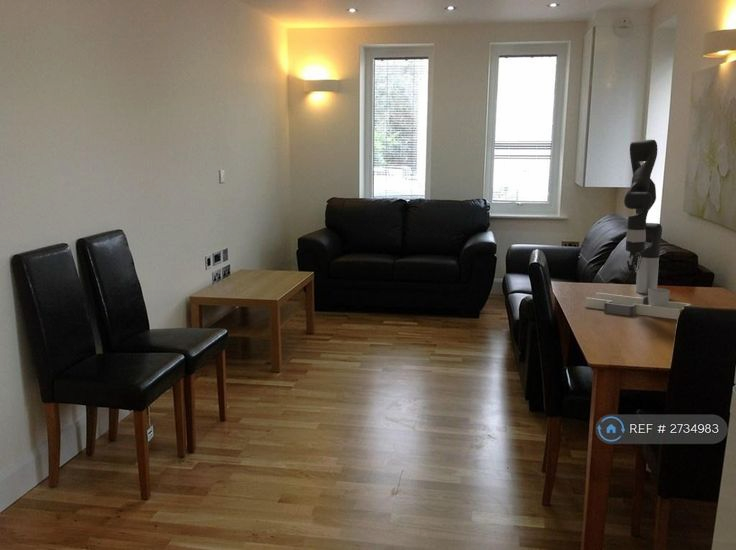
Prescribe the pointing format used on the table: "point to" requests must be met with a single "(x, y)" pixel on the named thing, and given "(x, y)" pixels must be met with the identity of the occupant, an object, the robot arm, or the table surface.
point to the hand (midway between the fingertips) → (633, 280)
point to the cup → (658, 297)
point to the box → (633, 306)
